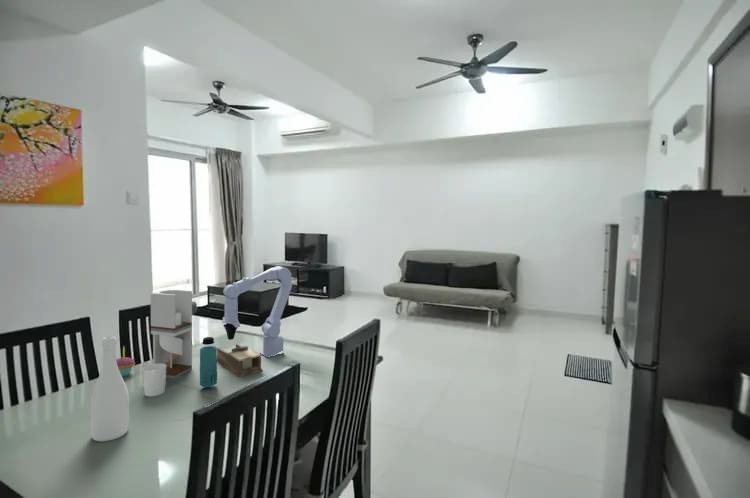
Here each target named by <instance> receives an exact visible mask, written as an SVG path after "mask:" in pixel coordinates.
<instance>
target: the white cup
mask: <svg viewBox="0 0 750 498" xmlns="http://www.w3.org/2000/svg"><path fill="white" fill-rule="evenodd" d="M166 380H167V378H166V364H162V363H157V364H153V363H150V364H148V365H144V366H143V367H142V383H143V390H144V396H147V397H157V396H160V395H162V394H164V393H165V391H166Z"/></svg>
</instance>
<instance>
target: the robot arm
mask: <svg viewBox="0 0 750 498" xmlns="http://www.w3.org/2000/svg"><path fill="white" fill-rule="evenodd" d="M269 279H275V280H277V282H278V284H279V286H280V287H279V290H278V293H277V295H276V298H275V300H274V304H273V307H272V309H271V311H270V315H269V316H268V317H267V318H266V320H265V322H264V323H263V324H262V325H261V331H262V333H263V335H262V337H263V339H262V351H261V352H262V353H261V352H260V351H259V354H260V353H261V355H262V354H263V355H264V356H263V355H262V356H263V357H265V356H266V357H265V358H270V357H269V356H271V355H275V354H277V353H279V352H281V351H283V352H284V338H283V336H282V335H281V324H282V323H281V318H282V316H283V313H284V309H285V307H286V304H287V302H288V299H289V296H290V293H291V290H292V287H293V282H292V272H291V271H290V269H289V268H287V267H284V266H281V265H275V266H274V267H270V268H268V269H267V270H265V271H263V272H260V273H259V274H257V275H255V276H253V277H251V278H250V277H242V278H241V280H238V281H236V282H235V281H234V282H232V284H227V285H226V286H224V288H223V290H222V293H223V295H224V316H223V317H222V320H221V323H223V328H224V329H225V332H226V337H227V339H228V340H229V341H231V340H234V339H235V336H236V331H237V329H238V328H239V327H241V323H240V322H239V318H238V317H239V316H238V310H239V308H238V304H239V303H238V302H239V301H238V296H240V294H243V293H245V292H247V291H249V290H252V289H253V287H254V285H256V284H259V283H262V282H263V281H266V280H269Z"/></svg>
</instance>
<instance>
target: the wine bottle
mask: <svg viewBox="0 0 750 498" xmlns="http://www.w3.org/2000/svg"><path fill="white" fill-rule="evenodd" d="M117 343H118V341H117V337H116V336H112V335H110V336H104V337H103V338H102V340H101V346H102V367H101V371H100V373H99V376H98V378H97V381H96V384H95V386H94V389H93V392H92V394H91V397H90V432H91V433H90V436H91V439H92V440H94V441H96V442H110V441H114V440H116V439H119V438H121V437H123V436H124V435H126V433H127V432H128V431H129V428H130V415H129V414H130V413H129V412H130V405H129V403H130V402H129V399H130V398H129V397H130V396H129V395H130V394H129V389H128V387H127V384H126V383H125V380H124V379H123V376H121V374H120V371H119V369H118V366H117V362H116V359H117V347H116V345H117Z"/></svg>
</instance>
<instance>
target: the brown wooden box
mask: <svg viewBox="0 0 750 498" xmlns="http://www.w3.org/2000/svg"><path fill="white" fill-rule="evenodd" d="M239 347H243V346H242V345H241V344H238V343H236V344H235V348H239ZM216 348H217V364H219V365H221V366H222V367H223V368H225V369H226V370H228V371H229V372H230V373H232V374H233V375H234V376H236V377H237V378H241V377H244V376H248V375H252V374H255V373H256V374H257V373H260V372H263V370H264V369H263V368H262V356H260V357H256V358H252V367H251V368H247V369H243V370H241V369H242V361H238V360H237V359H235V358H233V357H232V356H230V355H229V354H228V353H229V352H227V351H226V350H224V349H222V348H221V347H216ZM259 371H260V372H259Z"/></svg>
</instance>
